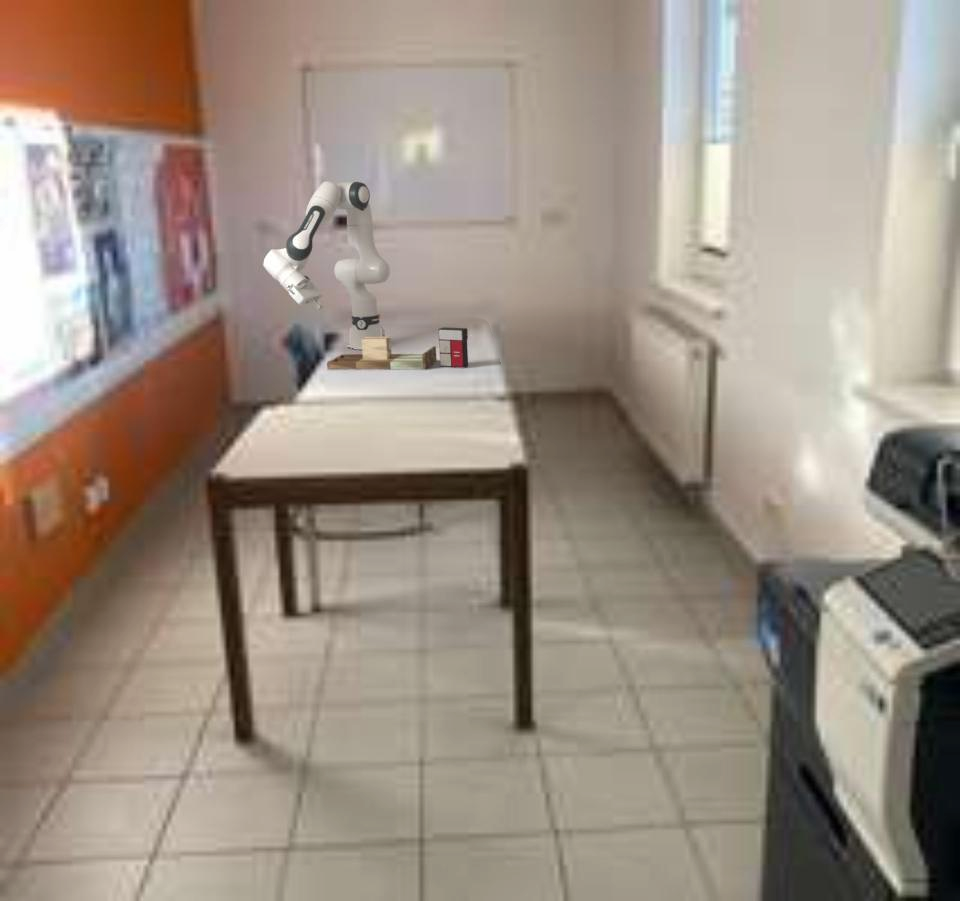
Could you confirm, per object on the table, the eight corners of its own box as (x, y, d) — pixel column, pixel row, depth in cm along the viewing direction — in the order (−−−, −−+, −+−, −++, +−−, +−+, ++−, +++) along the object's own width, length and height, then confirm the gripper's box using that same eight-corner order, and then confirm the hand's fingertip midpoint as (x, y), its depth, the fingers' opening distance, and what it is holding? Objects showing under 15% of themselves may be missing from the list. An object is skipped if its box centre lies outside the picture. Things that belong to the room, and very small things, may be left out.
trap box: (342, 361, 408) (341, 347, 407) (436, 361, 400) (435, 346, 399) (327, 369, 391) (326, 354, 390) (425, 369, 383) (424, 354, 382)
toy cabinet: (439, 367, 388) (437, 328, 384) (444, 365, 391) (442, 327, 387) (463, 368, 383) (462, 329, 379) (469, 366, 386) (467, 328, 382)
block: (367, 356, 399) (366, 337, 397) (391, 356, 397) (390, 336, 395) (363, 359, 394) (361, 339, 391) (387, 359, 392) (385, 339, 389)
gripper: (290, 280, 384) (316, 305, 385) (309, 276, 404) (333, 300, 404) (280, 292, 386) (306, 317, 387) (300, 287, 406) (324, 311, 406)
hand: (320, 308), depth 396 cm, fingers closed
